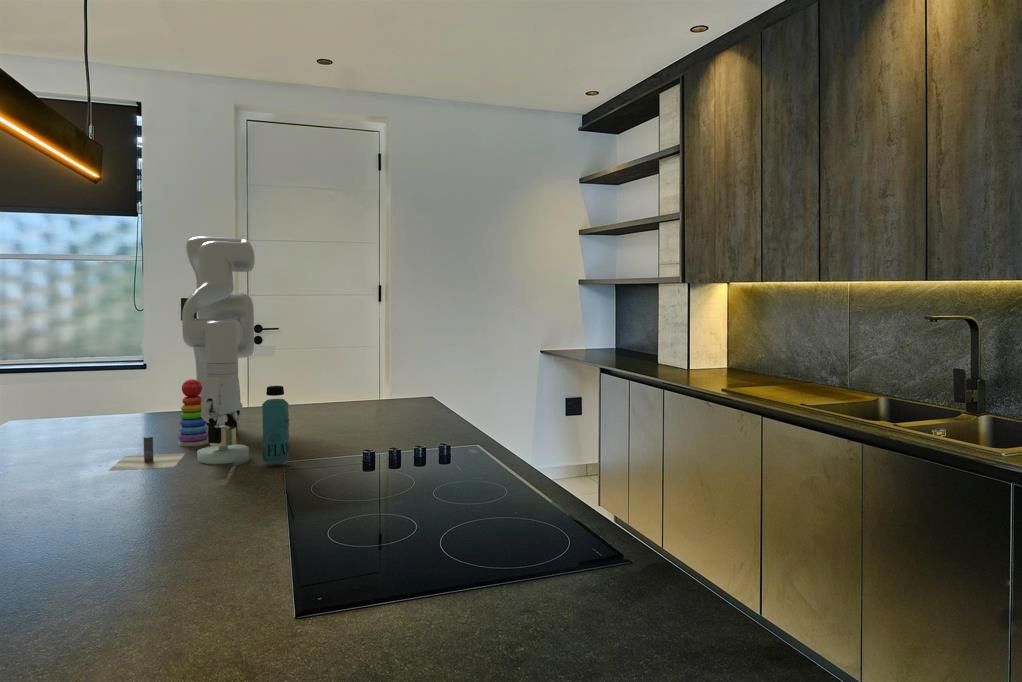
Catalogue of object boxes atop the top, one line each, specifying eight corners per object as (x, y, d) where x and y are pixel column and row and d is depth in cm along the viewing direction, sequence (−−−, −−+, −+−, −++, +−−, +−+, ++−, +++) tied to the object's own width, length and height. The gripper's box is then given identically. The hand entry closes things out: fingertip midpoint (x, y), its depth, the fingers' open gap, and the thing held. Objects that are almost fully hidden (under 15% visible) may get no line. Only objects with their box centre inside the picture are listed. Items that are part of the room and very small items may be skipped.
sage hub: (201, 456, 170) (201, 422, 170) (251, 454, 174) (250, 421, 173) (193, 469, 159) (192, 432, 158) (246, 466, 162) (245, 430, 161)
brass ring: (219, 440, 169) (219, 425, 169) (240, 441, 168) (240, 426, 168) (205, 445, 163) (204, 429, 163) (226, 447, 162) (226, 431, 162)
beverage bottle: (263, 470, 159) (262, 388, 157) (260, 463, 165) (259, 384, 163) (291, 467, 162) (291, 387, 160) (287, 461, 168) (286, 383, 166)
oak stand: (125, 460, 166) (124, 432, 166) (185, 456, 170) (185, 430, 169) (108, 474, 153) (107, 445, 152) (174, 471, 157) (173, 442, 156)
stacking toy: (215, 443, 185) (214, 378, 184) (199, 450, 177) (197, 381, 176) (189, 442, 186) (187, 377, 184) (171, 449, 178) (170, 380, 177)
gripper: (228, 365, 174) (230, 432, 175) (185, 372, 157) (187, 447, 158) (254, 366, 172) (255, 433, 173) (214, 374, 155) (215, 448, 157)
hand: (223, 439), depth 166 cm, fingers closed on brass ring, 6 cm apart
